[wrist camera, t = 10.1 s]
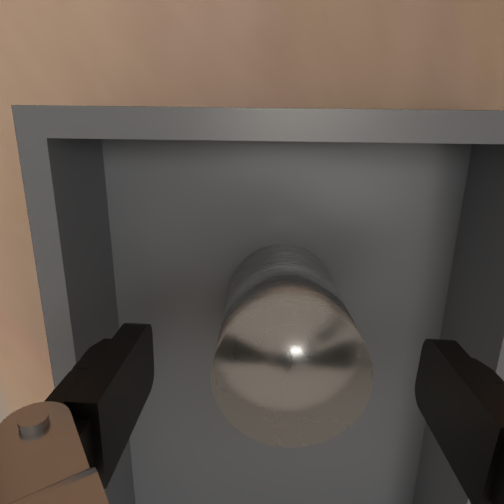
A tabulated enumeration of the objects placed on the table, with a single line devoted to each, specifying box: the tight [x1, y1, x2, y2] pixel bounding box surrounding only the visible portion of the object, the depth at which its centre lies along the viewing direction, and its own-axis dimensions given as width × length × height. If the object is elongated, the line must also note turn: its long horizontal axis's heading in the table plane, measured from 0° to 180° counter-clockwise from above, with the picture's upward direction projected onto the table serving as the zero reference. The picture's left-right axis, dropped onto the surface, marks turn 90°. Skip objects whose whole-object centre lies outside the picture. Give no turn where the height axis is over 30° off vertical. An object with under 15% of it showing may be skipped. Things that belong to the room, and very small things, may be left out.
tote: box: [11, 105, 504, 504], centre depth 18 cm, size 24×18×5 cm
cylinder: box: [211, 244, 374, 447], centre depth 15 cm, size 5×5×7 cm
